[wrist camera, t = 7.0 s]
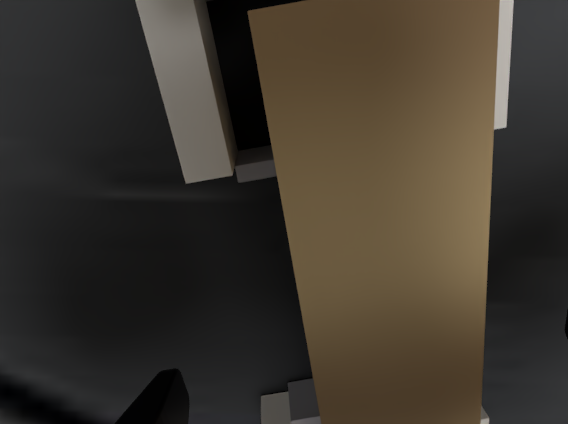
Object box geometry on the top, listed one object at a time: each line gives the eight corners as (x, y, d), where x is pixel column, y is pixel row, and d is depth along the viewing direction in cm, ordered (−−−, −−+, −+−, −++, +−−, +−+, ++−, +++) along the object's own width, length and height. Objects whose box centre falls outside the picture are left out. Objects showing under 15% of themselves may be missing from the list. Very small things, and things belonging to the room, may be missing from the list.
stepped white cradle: (453, 483, 16) (557, 713, 10) (290, 510, 16) (306, 754, 10) (459, -222, 8) (983, -932, 2) (120, -160, 8) (-233, -694, 2)
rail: (404, 425, 15) (472, 598, 10) (325, 438, 15) (356, 618, 10) (378, 8, 9) (501, -36, 5) (253, 31, 9) (247, 10, 5)
